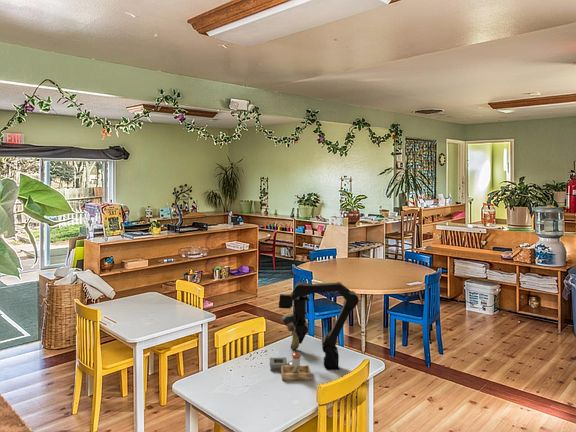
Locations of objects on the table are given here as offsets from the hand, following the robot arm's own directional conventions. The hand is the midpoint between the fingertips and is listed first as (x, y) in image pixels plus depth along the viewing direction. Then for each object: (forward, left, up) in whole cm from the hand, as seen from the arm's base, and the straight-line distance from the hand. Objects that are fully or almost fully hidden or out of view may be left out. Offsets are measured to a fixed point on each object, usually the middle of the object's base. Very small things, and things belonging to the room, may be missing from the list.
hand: (299, 340), depth 216 cm
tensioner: (+7, +1, -13) cm, 15 cm away
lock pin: (+2, +11, -12) cm, 17 cm away
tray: (+2, +11, -13) cm, 17 cm away
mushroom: (0, -20, -13) cm, 24 cm away
